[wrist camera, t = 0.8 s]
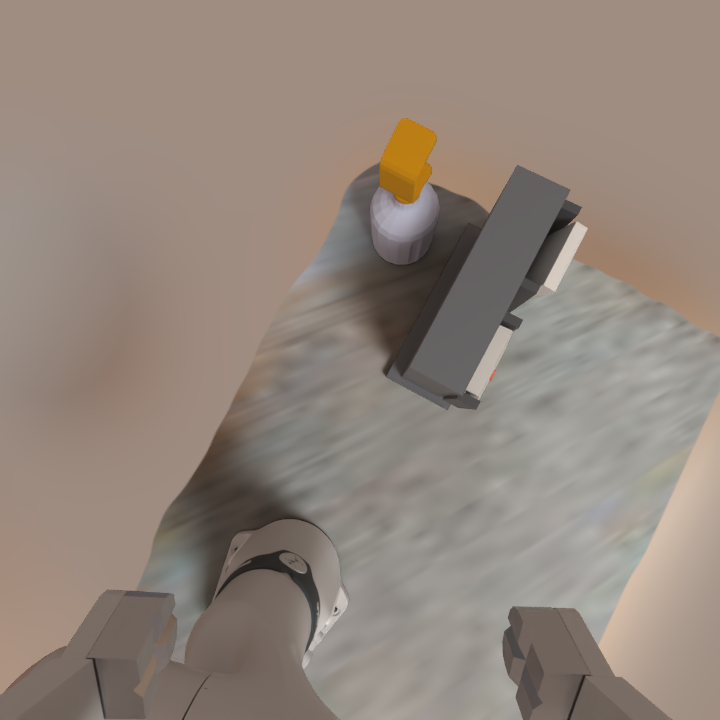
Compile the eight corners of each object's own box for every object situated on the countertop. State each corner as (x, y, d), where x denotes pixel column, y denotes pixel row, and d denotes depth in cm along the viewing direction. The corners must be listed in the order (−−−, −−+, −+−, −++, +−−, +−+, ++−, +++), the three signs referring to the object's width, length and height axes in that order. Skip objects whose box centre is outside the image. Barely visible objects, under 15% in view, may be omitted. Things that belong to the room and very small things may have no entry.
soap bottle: (442, 225, 65) (477, 119, 40) (412, 276, 64) (430, 200, 40) (391, 198, 65) (395, 78, 41) (361, 248, 65) (347, 157, 41)
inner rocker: (477, 405, 55) (480, 397, 45) (465, 399, 55) (465, 389, 46) (506, 351, 55) (514, 331, 46) (493, 345, 56) (499, 324, 46)
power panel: (448, 410, 62) (478, 415, 42) (386, 377, 63) (387, 366, 43) (529, 256, 63) (595, 191, 43) (467, 226, 64) (504, 148, 44)
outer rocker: (511, 304, 56) (556, 292, 46) (501, 297, 56) (543, 284, 46) (539, 251, 56) (589, 229, 46) (528, 245, 56) (576, 221, 46)
